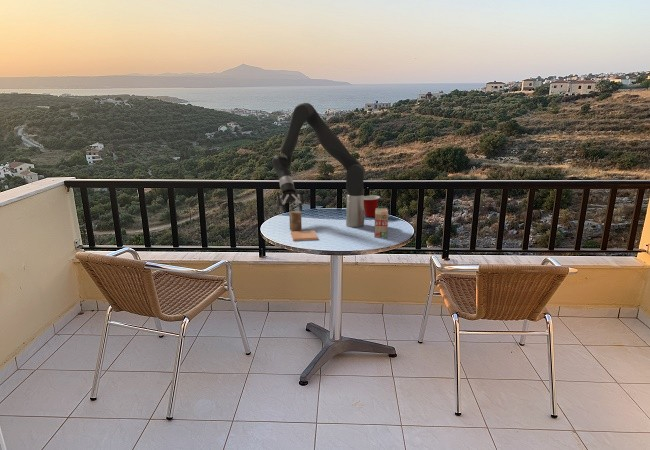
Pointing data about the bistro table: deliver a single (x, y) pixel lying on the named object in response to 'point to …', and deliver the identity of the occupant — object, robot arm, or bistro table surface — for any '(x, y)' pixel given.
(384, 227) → the stack of blocks
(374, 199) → the plastic cup
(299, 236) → the terracotta tile
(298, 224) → the walnut block
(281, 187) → the robot arm
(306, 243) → the bistro table surface
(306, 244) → the bistro table surface
